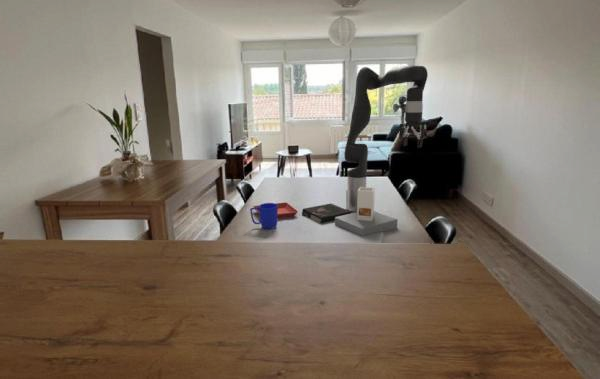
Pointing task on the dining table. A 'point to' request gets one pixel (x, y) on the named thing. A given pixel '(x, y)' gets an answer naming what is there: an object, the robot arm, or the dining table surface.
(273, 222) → the mug
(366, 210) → the block
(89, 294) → the dining table surface
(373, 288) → the dining table surface
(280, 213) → the plant saucer
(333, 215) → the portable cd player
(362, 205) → the white hollow square box
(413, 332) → the dining table surface
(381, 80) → the robot arm
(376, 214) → the dock
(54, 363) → the dining table surface
